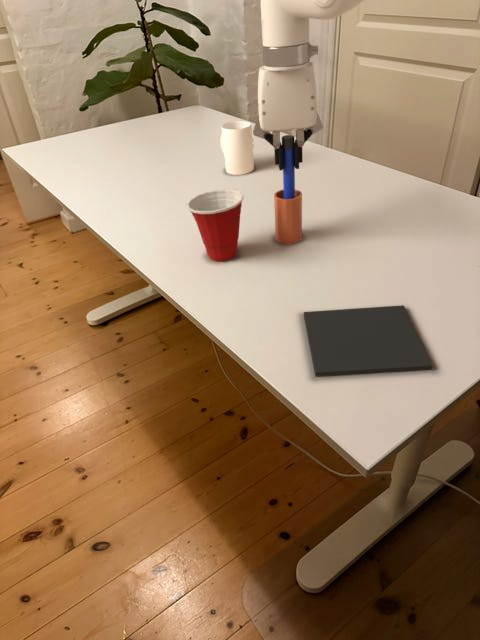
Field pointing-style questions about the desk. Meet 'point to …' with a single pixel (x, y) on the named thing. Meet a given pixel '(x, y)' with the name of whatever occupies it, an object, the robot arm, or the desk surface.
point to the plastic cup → (218, 221)
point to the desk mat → (364, 341)
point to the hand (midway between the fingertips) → (288, 166)
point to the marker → (288, 166)
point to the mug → (237, 147)
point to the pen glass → (288, 217)
